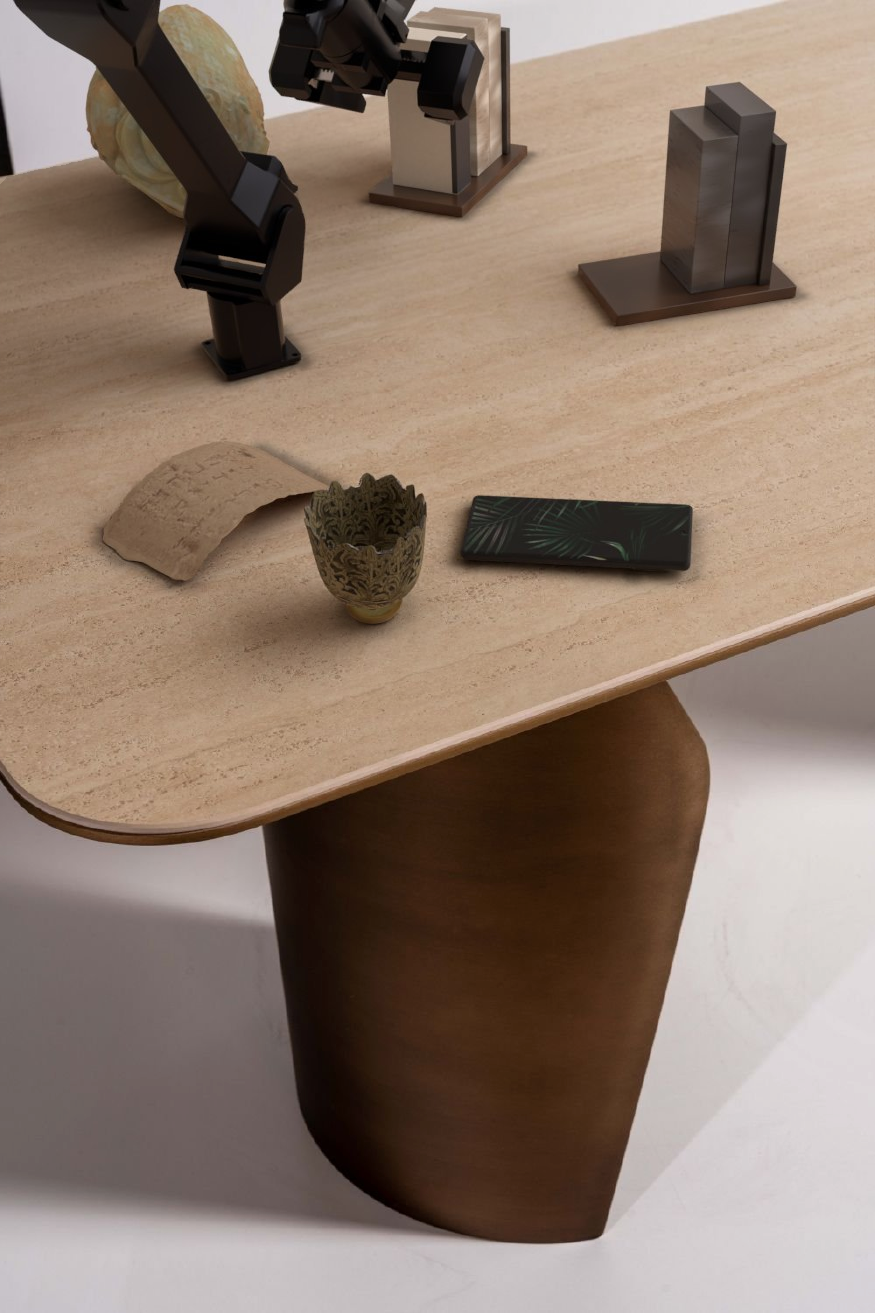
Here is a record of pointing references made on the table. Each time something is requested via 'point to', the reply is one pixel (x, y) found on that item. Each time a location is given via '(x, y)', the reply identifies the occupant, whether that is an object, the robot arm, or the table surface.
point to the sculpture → (218, 80)
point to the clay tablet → (198, 504)
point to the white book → (426, 133)
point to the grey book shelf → (707, 217)
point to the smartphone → (579, 533)
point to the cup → (368, 543)
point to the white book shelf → (446, 198)
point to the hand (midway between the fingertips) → (407, 113)
